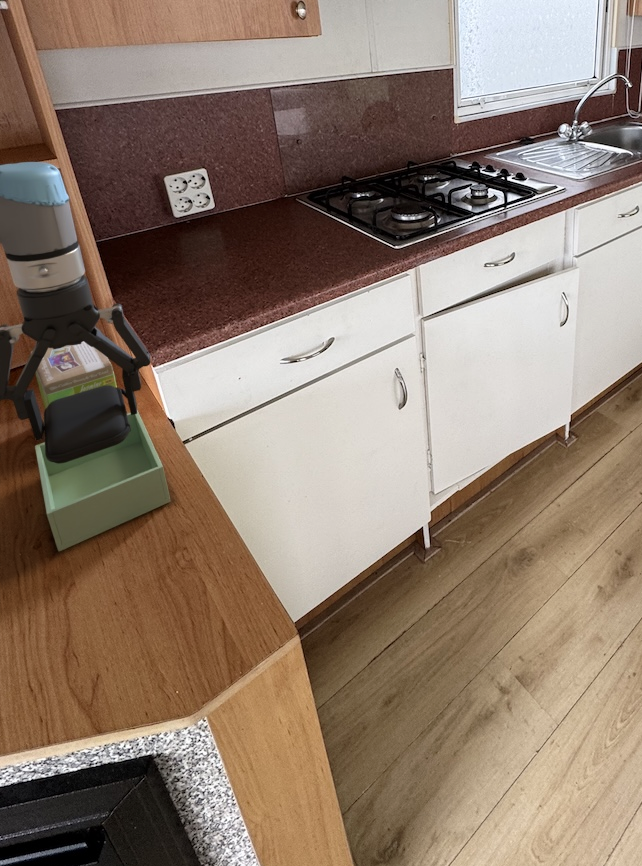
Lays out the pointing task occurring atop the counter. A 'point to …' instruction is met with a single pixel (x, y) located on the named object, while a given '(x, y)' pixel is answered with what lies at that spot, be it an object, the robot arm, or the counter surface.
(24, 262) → the robot arm
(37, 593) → the counter surface
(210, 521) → the counter surface
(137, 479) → the storage bin
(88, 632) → the counter surface
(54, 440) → the carrying case
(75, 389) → the tea box
